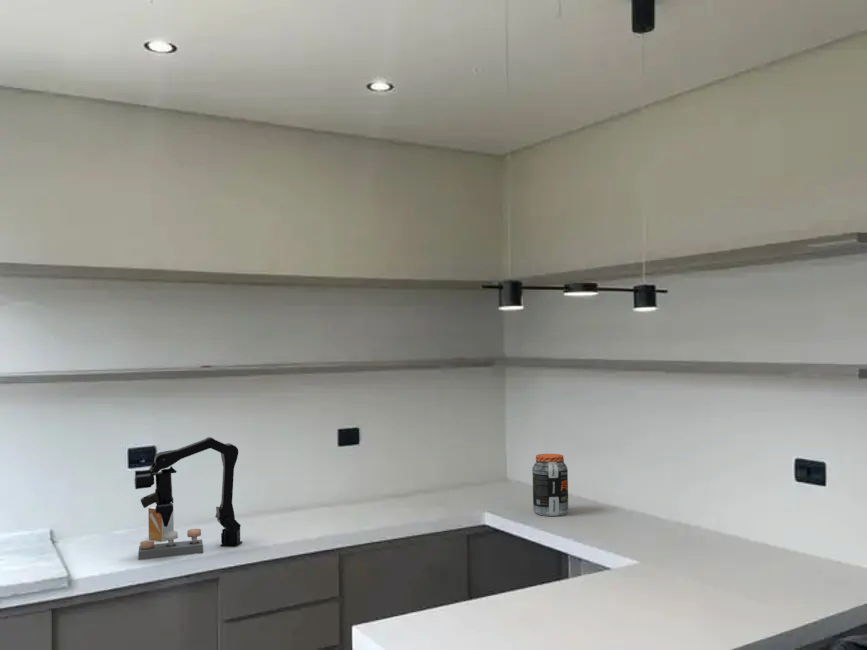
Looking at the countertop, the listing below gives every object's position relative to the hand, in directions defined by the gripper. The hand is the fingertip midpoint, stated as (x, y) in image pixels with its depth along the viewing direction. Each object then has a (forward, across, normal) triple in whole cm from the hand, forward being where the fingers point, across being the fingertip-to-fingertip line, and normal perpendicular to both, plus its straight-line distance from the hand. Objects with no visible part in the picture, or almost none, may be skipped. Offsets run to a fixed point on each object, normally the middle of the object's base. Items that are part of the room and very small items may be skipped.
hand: (165, 526), depth 289 cm
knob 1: (+10, 0, -7) cm, 12 cm away
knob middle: (+8, 0, +2) cm, 8 cm away
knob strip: (+10, 0, +2) cm, 11 cm away
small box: (+11, -25, -2) cm, 27 cm away
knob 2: (+8, 0, +10) cm, 13 cm away
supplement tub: (+15, +2, +163) cm, 164 cm away
